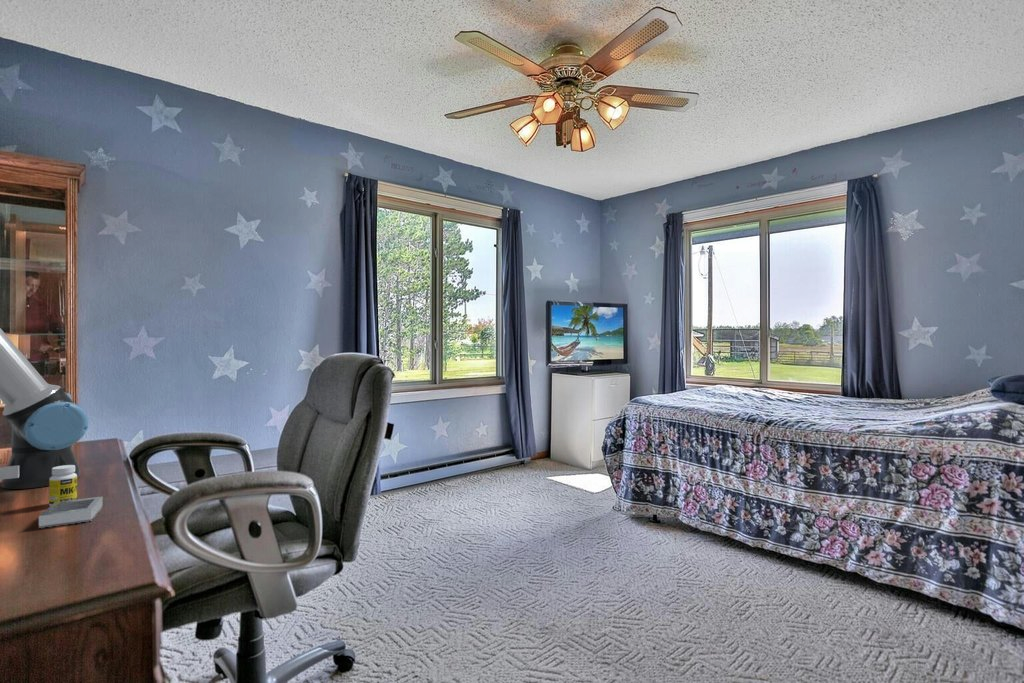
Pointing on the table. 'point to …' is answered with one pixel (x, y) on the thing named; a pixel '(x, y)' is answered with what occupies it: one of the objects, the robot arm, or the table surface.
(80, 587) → the table surface
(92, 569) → the table surface
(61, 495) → the supplement bottle
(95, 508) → the rectangular metal tray
